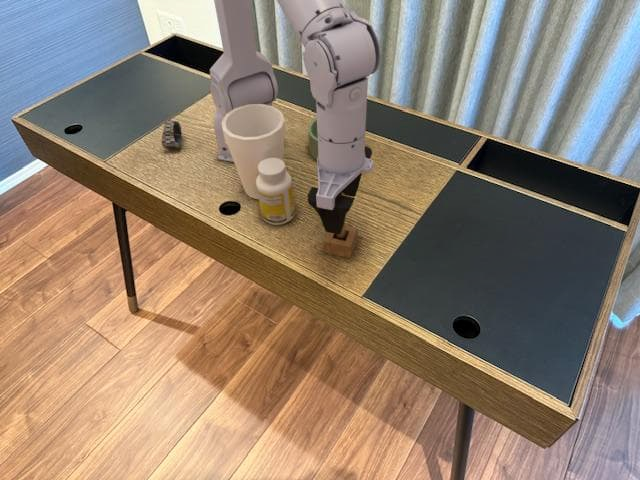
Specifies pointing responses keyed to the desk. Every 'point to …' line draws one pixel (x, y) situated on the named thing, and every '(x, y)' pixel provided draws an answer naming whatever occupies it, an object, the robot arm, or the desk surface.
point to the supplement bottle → (275, 192)
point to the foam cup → (253, 140)
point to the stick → (342, 234)
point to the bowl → (313, 139)
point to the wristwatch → (171, 135)
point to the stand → (341, 243)
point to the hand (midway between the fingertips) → (341, 212)
